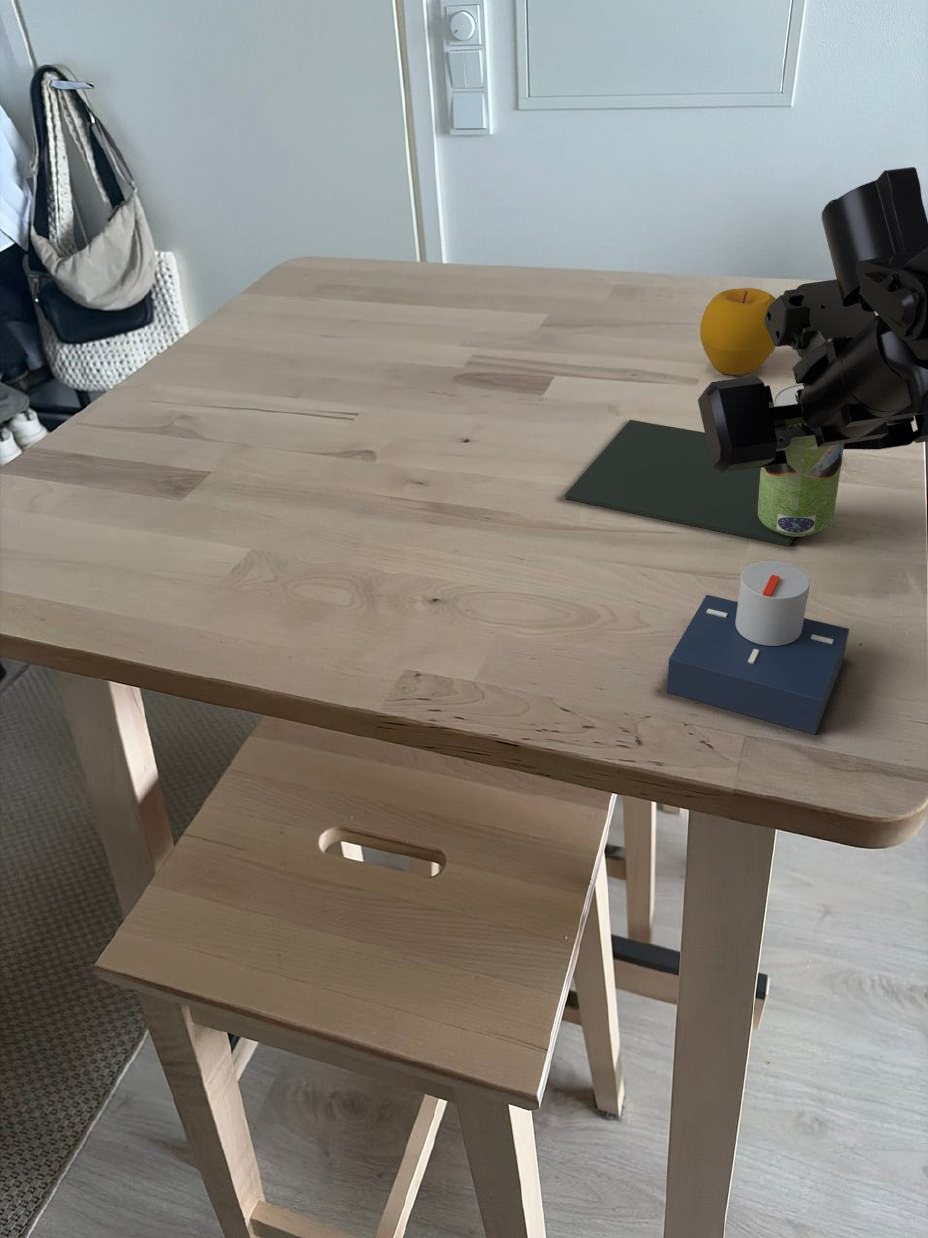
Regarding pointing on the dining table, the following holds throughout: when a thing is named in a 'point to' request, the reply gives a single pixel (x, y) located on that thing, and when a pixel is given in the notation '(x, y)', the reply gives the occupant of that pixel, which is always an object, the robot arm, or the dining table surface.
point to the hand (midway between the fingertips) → (786, 447)
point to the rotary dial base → (757, 668)
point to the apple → (737, 330)
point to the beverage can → (800, 483)
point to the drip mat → (673, 482)
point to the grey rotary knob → (772, 602)
